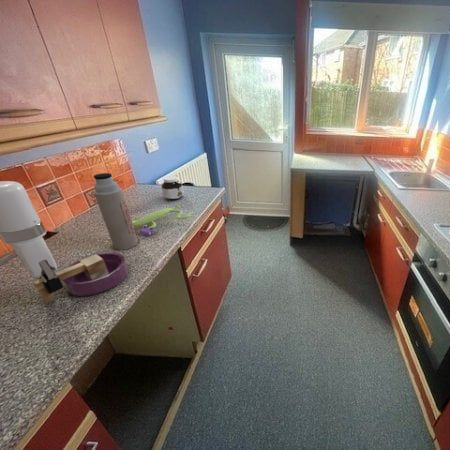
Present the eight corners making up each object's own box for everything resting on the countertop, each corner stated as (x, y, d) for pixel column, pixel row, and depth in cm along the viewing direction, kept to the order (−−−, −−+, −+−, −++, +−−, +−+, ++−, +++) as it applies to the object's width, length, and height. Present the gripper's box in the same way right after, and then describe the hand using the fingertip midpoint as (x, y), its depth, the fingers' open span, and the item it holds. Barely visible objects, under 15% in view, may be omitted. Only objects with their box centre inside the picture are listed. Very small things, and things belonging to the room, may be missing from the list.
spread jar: (170, 202, 134) (166, 181, 129) (158, 197, 139) (153, 177, 134) (189, 196, 144) (186, 176, 138) (177, 191, 149) (173, 172, 143)
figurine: (199, 223, 115) (197, 212, 112) (132, 241, 99) (128, 229, 97) (185, 209, 127) (183, 199, 125) (124, 224, 111) (120, 212, 109)
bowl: (81, 305, 70) (74, 291, 67) (59, 283, 77) (52, 270, 75) (138, 275, 82) (134, 263, 79) (115, 259, 89) (110, 247, 86)
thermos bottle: (142, 239, 101) (121, 171, 88) (130, 250, 94) (106, 178, 81) (122, 238, 101) (98, 170, 88) (109, 249, 94) (81, 177, 81)
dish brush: (48, 306, 68) (36, 286, 65) (42, 298, 70) (30, 279, 67) (110, 277, 80) (103, 259, 76) (103, 271, 82) (96, 253, 79)
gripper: (-8, 228, 62) (27, 284, 71) (11, 249, 55) (47, 309, 64) (33, 217, 68) (60, 271, 77) (54, 235, 61) (82, 292, 69)
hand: (54, 287), depth 70 cm, fingers closed on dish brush
